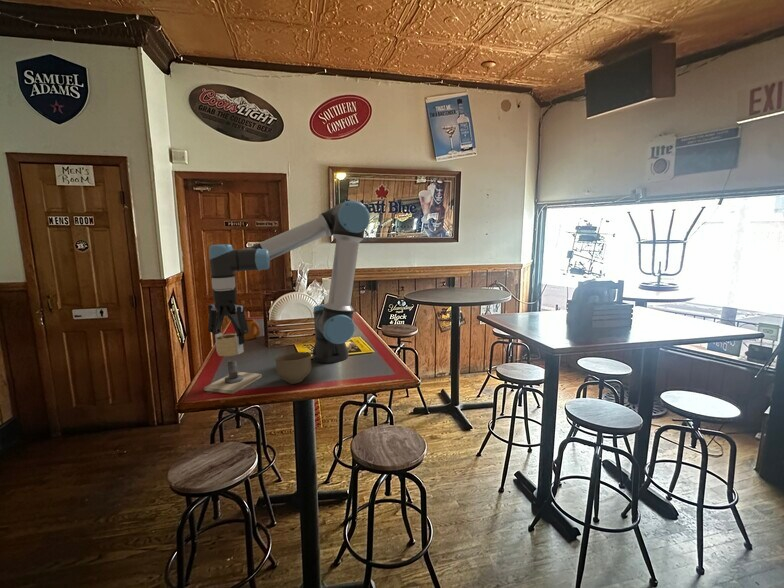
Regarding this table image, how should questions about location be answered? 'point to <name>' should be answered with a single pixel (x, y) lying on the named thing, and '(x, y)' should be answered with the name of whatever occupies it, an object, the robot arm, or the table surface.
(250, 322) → the mug
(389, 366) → the table surface
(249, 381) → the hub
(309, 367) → the bowl
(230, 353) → the collar
